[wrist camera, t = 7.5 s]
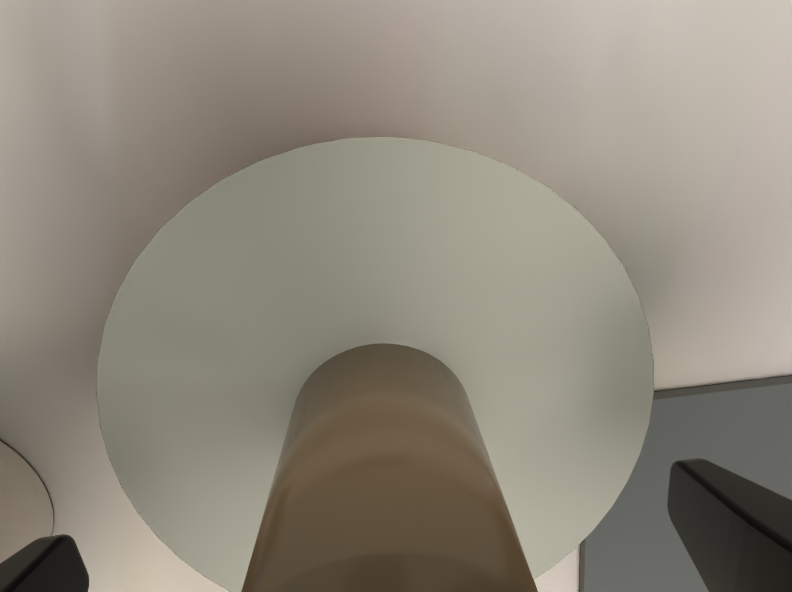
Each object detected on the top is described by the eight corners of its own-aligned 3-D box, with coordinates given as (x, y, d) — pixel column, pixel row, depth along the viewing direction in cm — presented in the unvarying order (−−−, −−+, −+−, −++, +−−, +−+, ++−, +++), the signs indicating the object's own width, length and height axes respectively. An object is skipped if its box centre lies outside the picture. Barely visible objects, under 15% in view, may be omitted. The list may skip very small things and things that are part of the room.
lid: (649, 104, 9) (1072, 63, 3) (621, 566, 12) (810, 893, 7) (40, 173, 9) (-484, 239, 3) (190, 619, 12) (52, 990, 7)
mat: (967, 354, 15) (982, 360, 15) (882, 631, 19) (893, 642, 19) (583, 400, 15) (588, 407, 15) (577, 670, 19) (581, 681, 18)
